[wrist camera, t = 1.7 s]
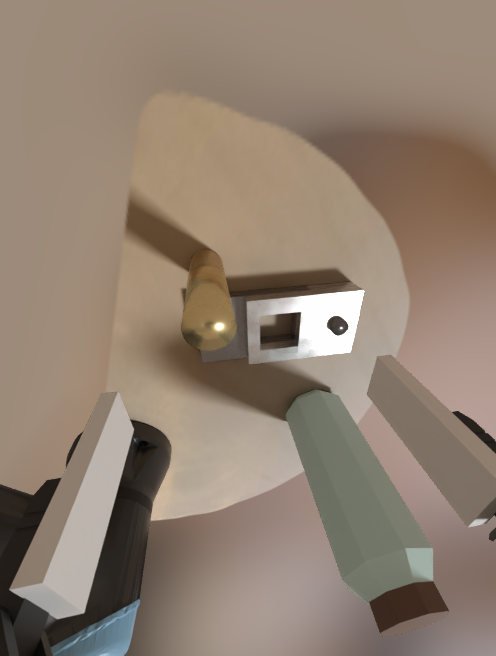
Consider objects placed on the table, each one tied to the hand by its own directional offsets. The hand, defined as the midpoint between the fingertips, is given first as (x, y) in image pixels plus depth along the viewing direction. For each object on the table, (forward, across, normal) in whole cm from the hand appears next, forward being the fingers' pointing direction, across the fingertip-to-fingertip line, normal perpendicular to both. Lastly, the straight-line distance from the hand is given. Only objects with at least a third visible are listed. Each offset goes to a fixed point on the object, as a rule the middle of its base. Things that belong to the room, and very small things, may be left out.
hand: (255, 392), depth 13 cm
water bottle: (+19, +13, -25) cm, 34 cm away
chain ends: (+19, +6, -7) cm, 21 cm away
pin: (+19, -2, +1) cm, 19 cm away
